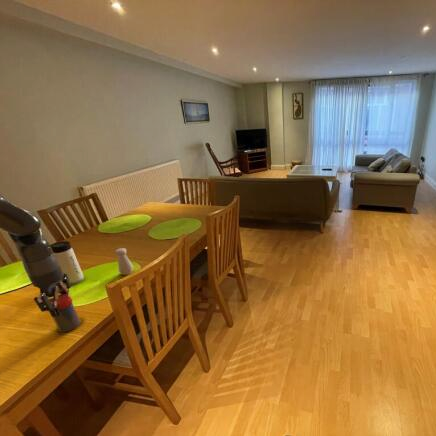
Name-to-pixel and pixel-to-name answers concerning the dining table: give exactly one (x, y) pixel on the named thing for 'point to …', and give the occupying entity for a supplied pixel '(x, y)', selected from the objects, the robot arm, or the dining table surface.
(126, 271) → the salt shaker
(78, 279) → the travel mug
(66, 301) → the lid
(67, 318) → the jar
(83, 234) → the dining table surface
